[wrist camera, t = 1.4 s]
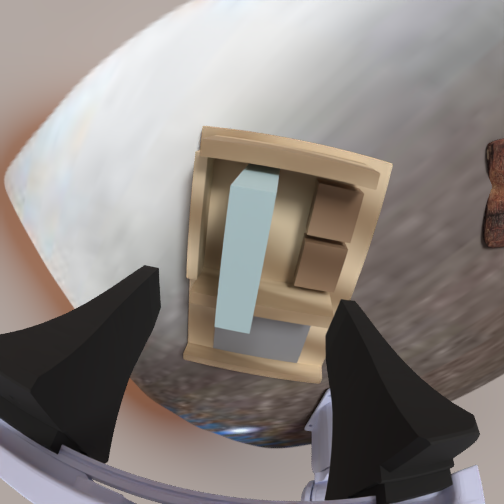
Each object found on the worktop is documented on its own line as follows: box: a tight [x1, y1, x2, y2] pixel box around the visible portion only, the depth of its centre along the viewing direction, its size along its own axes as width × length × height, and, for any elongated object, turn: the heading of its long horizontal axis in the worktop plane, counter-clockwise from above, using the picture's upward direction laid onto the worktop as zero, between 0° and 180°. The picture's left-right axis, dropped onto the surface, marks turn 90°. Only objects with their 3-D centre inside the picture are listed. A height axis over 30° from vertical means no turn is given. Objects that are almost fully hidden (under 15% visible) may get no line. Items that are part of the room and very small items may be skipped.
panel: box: [214, 163, 280, 334], centre depth 17 cm, size 8×2×7 cm, turn 172°
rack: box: [183, 126, 393, 384], centre depth 21 cm, size 20×13×4 cm, turn 172°
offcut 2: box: [294, 233, 348, 293], centre depth 20 cm, size 4×3×2 cm
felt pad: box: [213, 316, 311, 363], centre depth 25 cm, size 6×8×1 cm
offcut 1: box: [306, 178, 364, 243], centre depth 19 cm, size 4×3×2 cm
